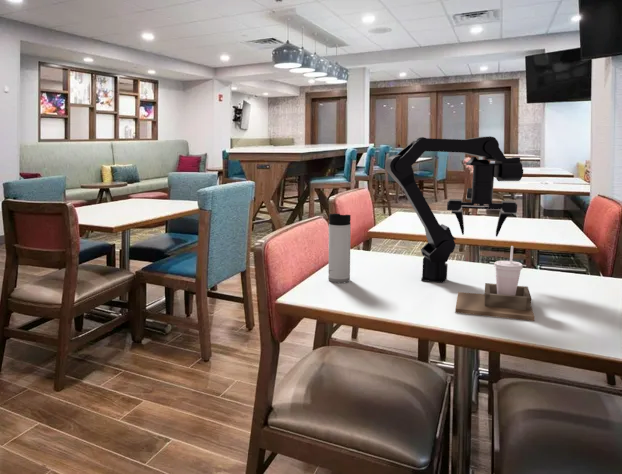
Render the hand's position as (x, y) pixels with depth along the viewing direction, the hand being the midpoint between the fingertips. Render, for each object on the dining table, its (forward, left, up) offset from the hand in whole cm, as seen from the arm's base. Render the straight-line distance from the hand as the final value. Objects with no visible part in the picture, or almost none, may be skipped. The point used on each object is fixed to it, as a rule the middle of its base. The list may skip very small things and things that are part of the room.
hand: (479, 235), depth 141 cm
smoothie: (+7, -24, -12) cm, 28 cm away
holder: (+4, -26, -13) cm, 29 cm away
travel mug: (-38, -15, -13) cm, 43 cm away
